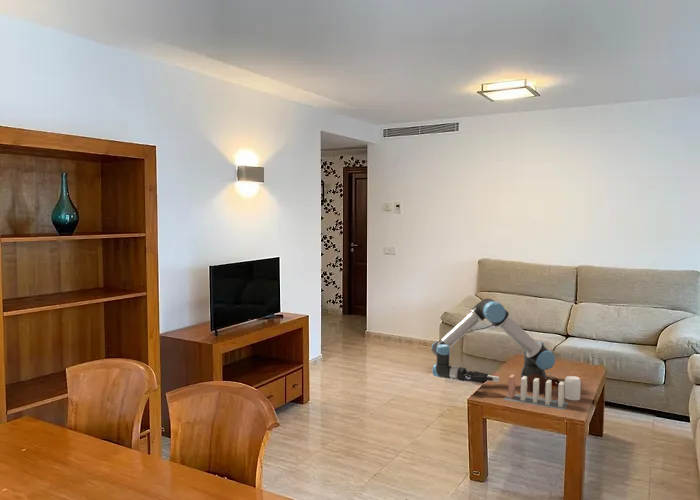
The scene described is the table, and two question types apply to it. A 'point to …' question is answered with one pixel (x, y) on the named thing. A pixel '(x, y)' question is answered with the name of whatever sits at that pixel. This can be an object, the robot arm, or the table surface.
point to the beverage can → (572, 388)
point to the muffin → (541, 382)
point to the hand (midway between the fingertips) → (498, 379)
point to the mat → (540, 402)
